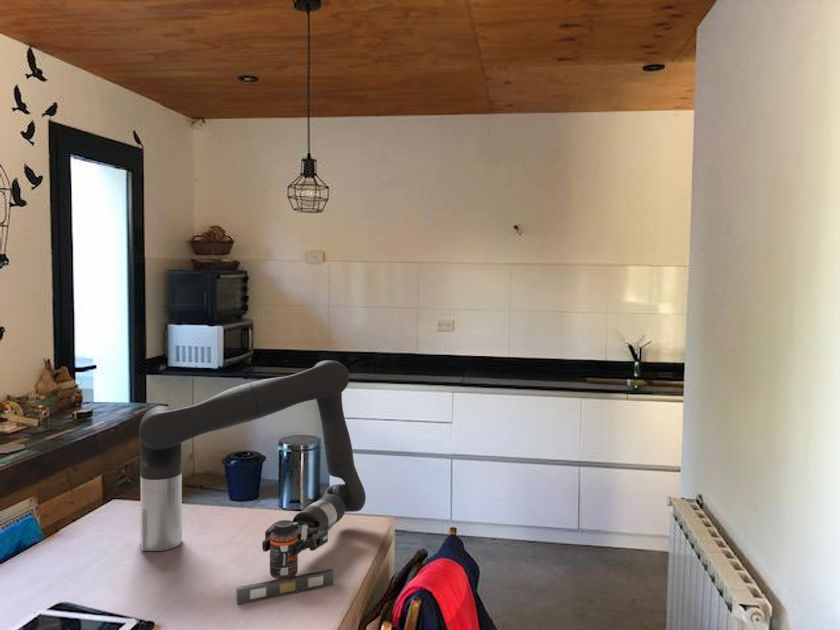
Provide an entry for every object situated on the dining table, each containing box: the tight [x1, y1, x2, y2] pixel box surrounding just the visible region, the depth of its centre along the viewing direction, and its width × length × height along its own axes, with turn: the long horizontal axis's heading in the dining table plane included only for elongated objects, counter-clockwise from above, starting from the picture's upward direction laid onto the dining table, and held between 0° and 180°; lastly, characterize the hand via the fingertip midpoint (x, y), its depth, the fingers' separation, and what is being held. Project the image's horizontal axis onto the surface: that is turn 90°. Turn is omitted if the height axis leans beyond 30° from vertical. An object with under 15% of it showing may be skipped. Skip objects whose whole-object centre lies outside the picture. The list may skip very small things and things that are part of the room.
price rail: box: [236, 568, 335, 605], centre depth 135 cm, size 20×2×3 cm, turn 116°
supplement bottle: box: [269, 519, 299, 580], centre depth 141 cm, size 6×6×11 cm
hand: (278, 549), depth 138 cm, fingers closed on supplement bottle, 6 cm apart
